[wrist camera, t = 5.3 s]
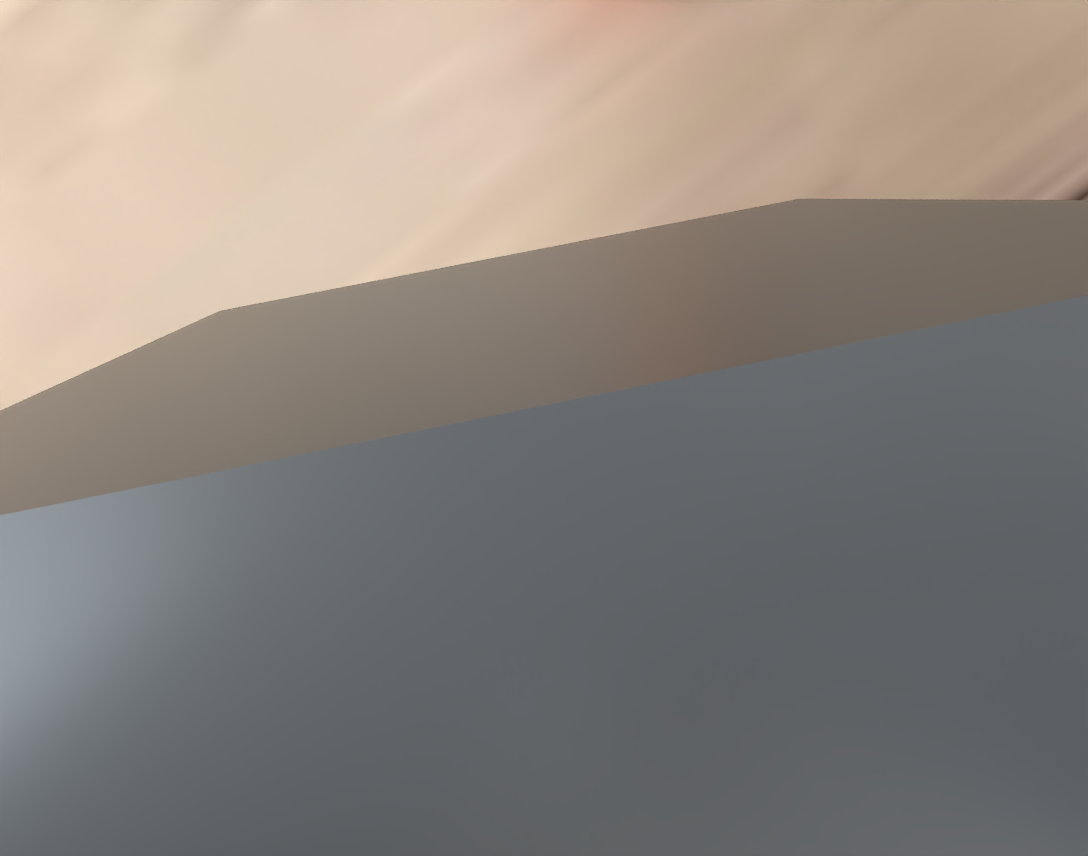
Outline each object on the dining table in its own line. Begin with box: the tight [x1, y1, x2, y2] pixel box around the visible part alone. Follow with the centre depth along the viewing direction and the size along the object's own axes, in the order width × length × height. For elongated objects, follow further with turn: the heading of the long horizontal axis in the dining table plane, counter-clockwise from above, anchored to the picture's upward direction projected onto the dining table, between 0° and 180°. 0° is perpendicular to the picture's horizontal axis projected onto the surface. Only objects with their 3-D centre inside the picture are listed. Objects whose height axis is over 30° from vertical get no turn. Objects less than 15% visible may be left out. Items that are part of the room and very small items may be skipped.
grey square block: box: [0, 199, 1088, 856], centre depth 9 cm, size 10×10×9 cm
